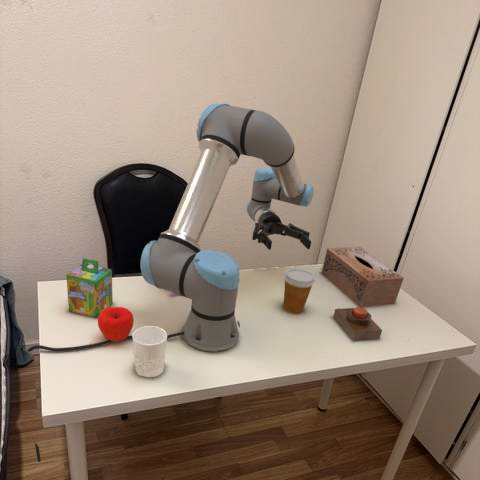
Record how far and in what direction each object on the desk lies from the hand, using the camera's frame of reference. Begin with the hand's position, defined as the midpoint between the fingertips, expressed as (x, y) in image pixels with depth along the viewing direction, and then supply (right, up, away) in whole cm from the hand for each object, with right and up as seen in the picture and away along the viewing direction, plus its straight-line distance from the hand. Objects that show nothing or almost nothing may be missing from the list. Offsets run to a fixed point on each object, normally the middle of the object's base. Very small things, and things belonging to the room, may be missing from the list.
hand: (290, 245), depth 139 cm
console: (+19, -26, -5) cm, 33 cm away
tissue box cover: (+26, -12, +19) cm, 35 cm away
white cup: (-38, -36, -33) cm, 62 cm away
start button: (+20, -22, -8) cm, 31 cm away
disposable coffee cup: (+1, -20, +1) cm, 20 cm away
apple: (-49, -29, -24) cm, 61 cm away
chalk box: (-59, -20, -13) cm, 64 cm away
